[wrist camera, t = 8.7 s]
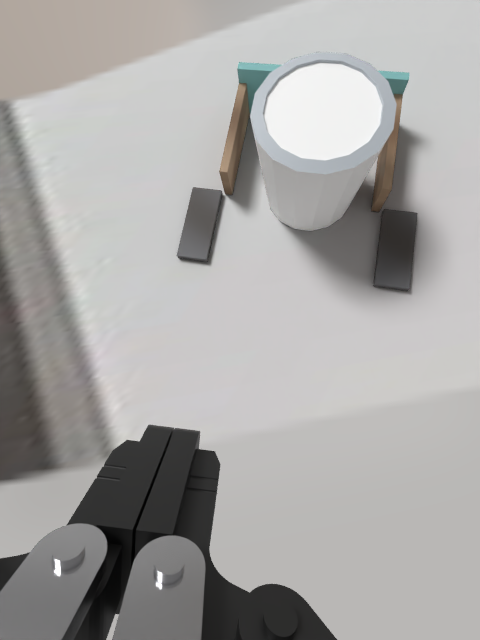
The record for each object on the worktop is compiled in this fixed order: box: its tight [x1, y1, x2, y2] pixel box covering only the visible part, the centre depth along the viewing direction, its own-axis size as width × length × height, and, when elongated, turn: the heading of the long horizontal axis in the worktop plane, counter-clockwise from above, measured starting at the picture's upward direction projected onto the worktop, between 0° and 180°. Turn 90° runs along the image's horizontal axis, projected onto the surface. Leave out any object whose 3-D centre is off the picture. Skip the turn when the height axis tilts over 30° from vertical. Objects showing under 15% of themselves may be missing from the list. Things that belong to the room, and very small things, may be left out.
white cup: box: [250, 52, 397, 231], centre depth 20 cm, size 7×7×7 cm
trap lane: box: [177, 83, 417, 291], centre depth 22 cm, size 12×15×2 cm
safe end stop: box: [238, 62, 409, 114], centre depth 23 cm, size 1×10×4 cm, turn 79°
